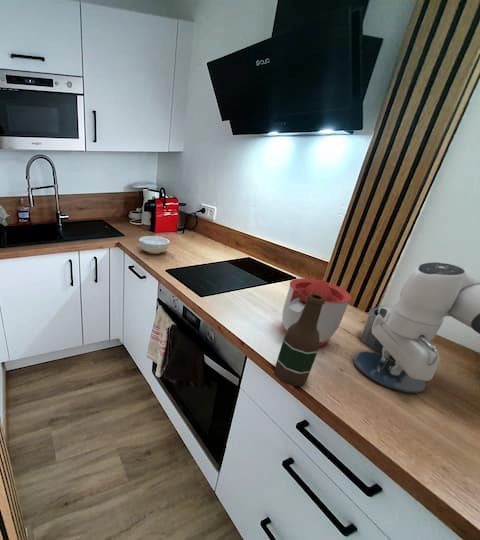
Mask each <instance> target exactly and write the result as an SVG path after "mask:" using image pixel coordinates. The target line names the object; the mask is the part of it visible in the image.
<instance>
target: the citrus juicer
mask: <svg viewBox="0 0 480 540" xmlns="http://www.w3.org/2000/svg"><path fill="white" fill-rule="evenodd" d="M309 294H316V295H320V296H322V297H323V298H324V300H325V302H324V304H323V305H322V308H321V312H320V315H319V319H318V323H317V330H318V332H319V338H320V345H319V347H321V346H323V345H325V344H326V343H327V342H328V341H330V340H331V338H332V337H333V336H334V334H336V332H337V330H338V329H339V327H340V325H341V322H342V320H343V317H344V315H345V312H346V310H347V307H348V306H349V303H350V302H351V301H352V295H351V293H349V292H348V291H347V290H346V289H344V288H343V287H340V286H338V285H336V284H334V283H330V282H328V281H325V280H323V279H320V280H319V279H313V278H305V277H304V278H302V277H301V278H294V279H292V280H290V282H289V288H288V291H287V294H286V298H285V300H284V304H283V309H282V317H281V318H282V319H281V320H282V322H281V325H282V330H283V333H284V335H285V334H286V331H287V329H288V328H289V327H290V326H291V325H292V324H294V323H296V322H297V321H298V320H299V318H300V316H301V314H302V311H303V309H304V307H305V304H306V302H307V300H306V299H307V296H308V295H309Z"/></svg>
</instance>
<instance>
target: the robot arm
mask: <svg viewBox="0 0 480 540" xmlns="http://www.w3.org/2000/svg"><path fill="white" fill-rule="evenodd" d="M378 313H379V314H378V315H377V316H376V318H375V320H374V323H373V325H372V334H373V335H374V336H375V337H376V338H377V340H378V341H379V342H380V343H381V344H382V345H383V349H382V353H381V354H382V356H383V357H382V359H381V362H382V363H383V364H384V363H385V361H386V359H387V358H388V356H389V355H391V356H392V357H393V358H394V359H395V360H396V361H395V364H396V365H395V366H391V365H390V367H389V369H388V370H389V372H390V373H391V374H392V375H396V376H398V375H399V374H400V372H401V371H403V370H404V371H405V372H406V373H407V374H408V376H409V377H410V378H413V379H417V380H422V381H425V382H429V381H431V380H432V379H433V378H434V375H435V374H436V371H437V370H438V367H439V363H440V354H439V352H438V347H437V346H436V345H435V344H434V343H432V342H431V341H434V339H435V337H436V336H437V334H438V332H439V330H440V328H441V326H442V325H443V324H444V318H445V317H451V318H453V319H454V320H456V321H458V322H460V323H461V324H463V325H465V326H467V327H469V328H471V329H472V330H473V331H475V332H476V333H477V334H479V335H480V280H478V279H477V278H474V277H471V276H470V275H468V274H467V273H466V271H465V269H464V268H462V267H460V266H457V265H455V264H451V263H446V262H445V263H444V262H436V261H435V262H433V261H432V262H426V263H421V264H419V265H417V266H416V267H415V269H414V270H413V271H412V272H411V273H410V274H409V276H408V277H407V279H406V281H405V283H404V285H403V287H402V289H401V290H400V293H399V300H398V301H397V302H396V304H395V305H394V306H393V307H390V306H386V307H379V309H378Z"/></svg>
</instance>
